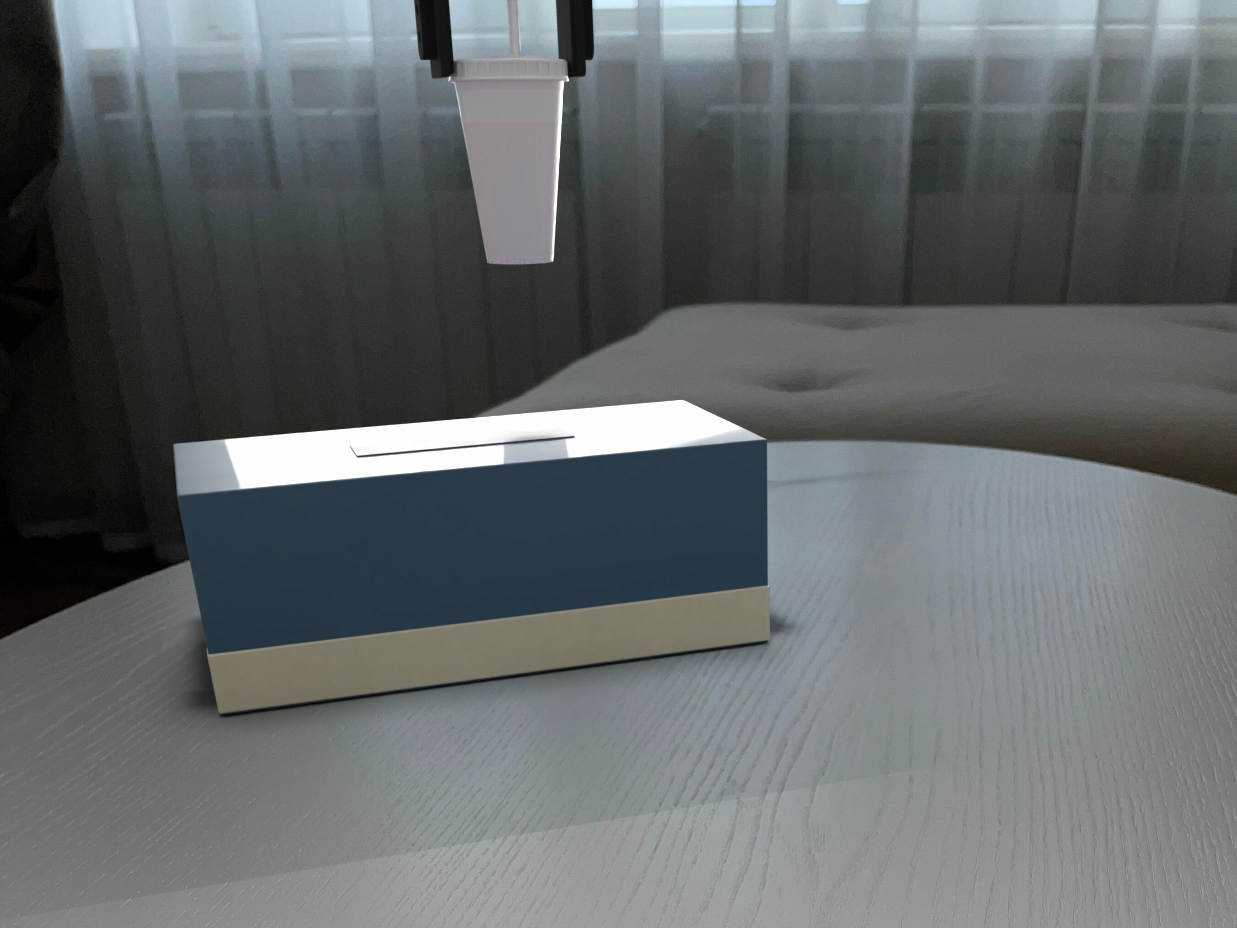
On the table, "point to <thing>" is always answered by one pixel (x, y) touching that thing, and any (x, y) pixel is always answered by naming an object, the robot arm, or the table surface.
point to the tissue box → (472, 549)
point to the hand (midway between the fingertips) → (508, 73)
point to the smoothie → (513, 147)
